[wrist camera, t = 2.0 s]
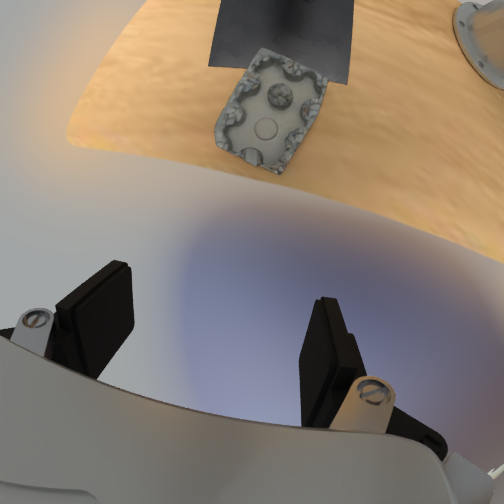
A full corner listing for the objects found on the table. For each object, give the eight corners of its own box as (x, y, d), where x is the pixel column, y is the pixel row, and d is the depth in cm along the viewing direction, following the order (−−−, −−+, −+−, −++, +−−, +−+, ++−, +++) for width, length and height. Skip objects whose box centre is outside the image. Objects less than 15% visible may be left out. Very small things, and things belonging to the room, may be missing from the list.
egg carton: (280, 177, 28) (280, 182, 24) (213, 142, 27) (203, 142, 24) (331, 88, 24) (339, 79, 21) (263, 54, 24) (261, 40, 20)
